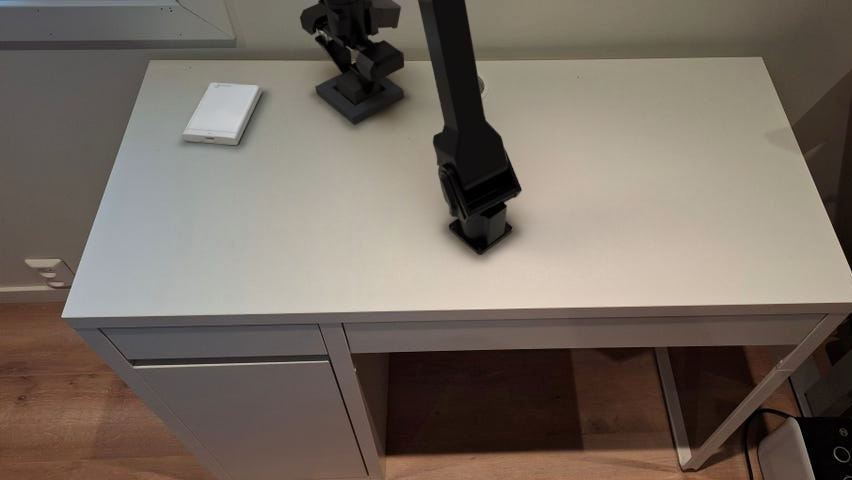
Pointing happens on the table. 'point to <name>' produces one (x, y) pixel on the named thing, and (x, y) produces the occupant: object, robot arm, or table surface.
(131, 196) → the table surface
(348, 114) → the dark grey square frame
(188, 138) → the hard drive
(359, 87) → the black block
